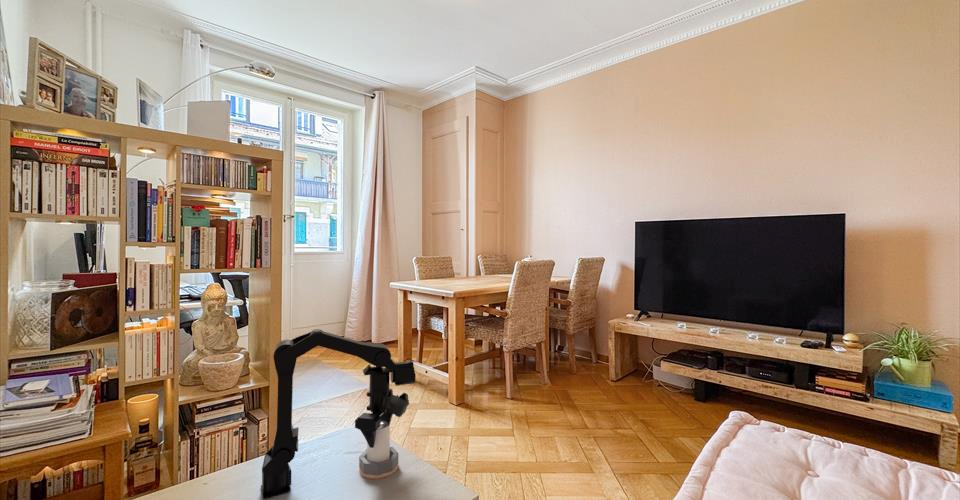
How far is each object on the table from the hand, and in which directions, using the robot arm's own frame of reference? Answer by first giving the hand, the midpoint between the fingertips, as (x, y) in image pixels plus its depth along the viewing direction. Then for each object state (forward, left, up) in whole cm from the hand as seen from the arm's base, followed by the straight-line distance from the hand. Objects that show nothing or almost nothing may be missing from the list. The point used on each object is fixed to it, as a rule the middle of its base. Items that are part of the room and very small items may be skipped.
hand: (379, 439), depth 119 cm
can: (0, 0, -8) cm, 8 cm away
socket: (0, 0, -8) cm, 8 cm away
